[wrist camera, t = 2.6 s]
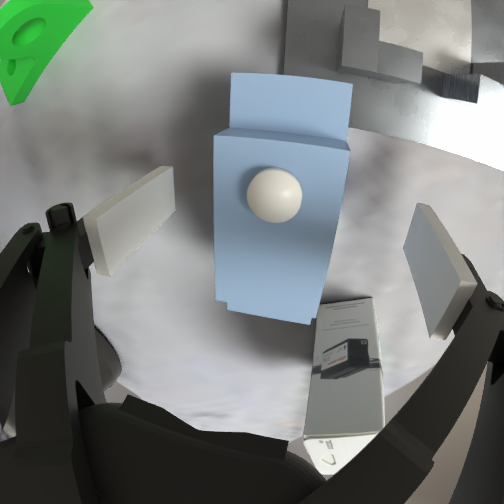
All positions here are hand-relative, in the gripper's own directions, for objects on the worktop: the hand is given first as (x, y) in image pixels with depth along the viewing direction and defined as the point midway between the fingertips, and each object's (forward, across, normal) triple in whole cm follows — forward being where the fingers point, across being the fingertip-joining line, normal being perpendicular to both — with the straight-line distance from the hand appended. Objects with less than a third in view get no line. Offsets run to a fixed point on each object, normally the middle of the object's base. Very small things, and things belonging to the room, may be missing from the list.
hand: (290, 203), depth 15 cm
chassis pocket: (+5, +7, +14) cm, 16 cm away
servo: (+4, 0, 0) cm, 5 cm away
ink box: (+5, +7, -13) cm, 15 cm away
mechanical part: (+5, -23, +12) cm, 26 cm away
